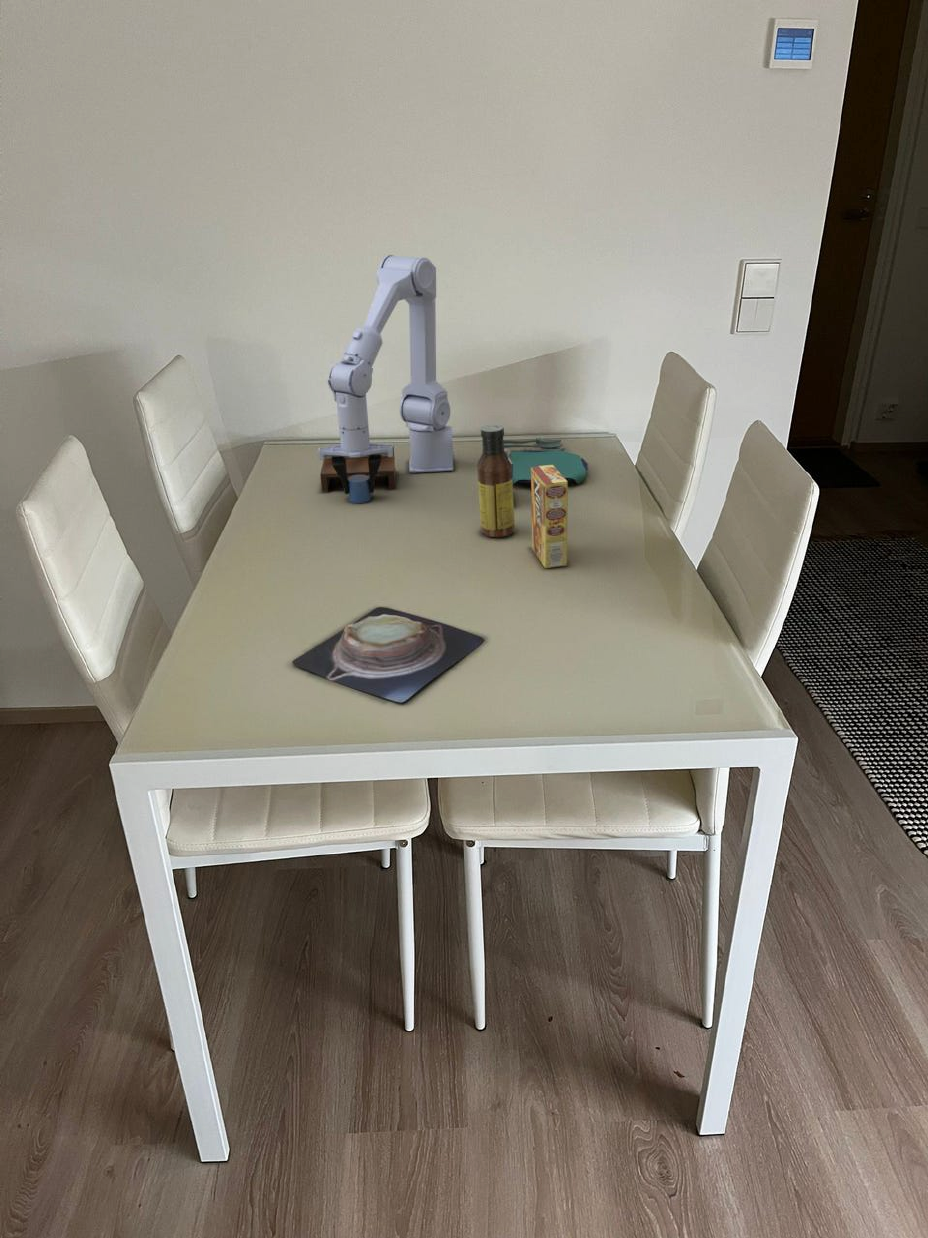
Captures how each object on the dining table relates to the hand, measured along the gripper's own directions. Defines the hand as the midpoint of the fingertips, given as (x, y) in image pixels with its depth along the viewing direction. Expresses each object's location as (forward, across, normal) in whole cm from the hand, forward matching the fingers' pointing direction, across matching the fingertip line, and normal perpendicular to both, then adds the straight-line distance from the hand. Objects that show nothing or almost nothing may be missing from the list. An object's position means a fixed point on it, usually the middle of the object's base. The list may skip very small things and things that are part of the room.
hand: (359, 491), depth 193 cm
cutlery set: (+2, +38, +15) cm, 41 cm away
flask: (+2, +29, -4) cm, 29 cm away
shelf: (+2, 0, +10) cm, 10 cm away
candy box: (+2, +34, -32) cm, 47 cm away
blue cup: (+2, 0, 0) cm, 2 cm away
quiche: (+2, +7, -62) cm, 62 cm away
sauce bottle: (+2, +26, -20) cm, 33 cm away
